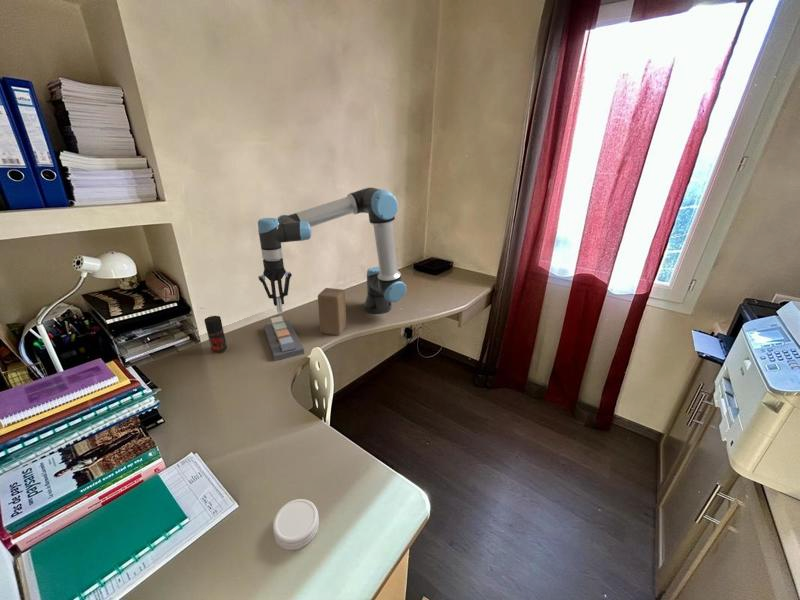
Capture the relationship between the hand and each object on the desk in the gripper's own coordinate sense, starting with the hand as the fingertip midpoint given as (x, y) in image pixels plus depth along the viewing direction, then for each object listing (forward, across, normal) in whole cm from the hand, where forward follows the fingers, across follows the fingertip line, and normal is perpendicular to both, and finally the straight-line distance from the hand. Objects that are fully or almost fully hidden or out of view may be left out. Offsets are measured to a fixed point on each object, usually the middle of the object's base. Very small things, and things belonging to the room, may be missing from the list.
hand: (280, 311), depth 143 cm
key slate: (+14, 0, +7) cm, 16 cm away
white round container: (+17, +13, +82) cm, 85 cm away
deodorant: (+17, +26, -8) cm, 31 cm away
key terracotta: (+14, 0, 0) cm, 14 cm away
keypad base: (+16, 0, -4) cm, 17 cm away
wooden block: (+17, -24, -3) cm, 29 cm away
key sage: (+14, 0, -7) cm, 16 cm away
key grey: (+14, 0, -14) cm, 20 cm away
